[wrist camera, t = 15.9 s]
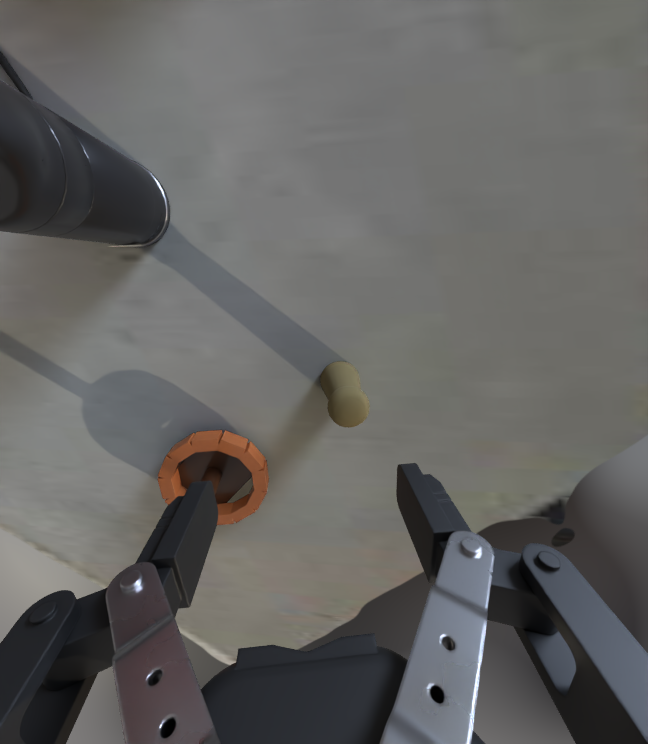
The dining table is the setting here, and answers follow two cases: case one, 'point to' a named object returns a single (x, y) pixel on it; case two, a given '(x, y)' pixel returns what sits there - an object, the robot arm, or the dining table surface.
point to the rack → (215, 473)
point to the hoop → (227, 445)
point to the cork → (344, 394)
